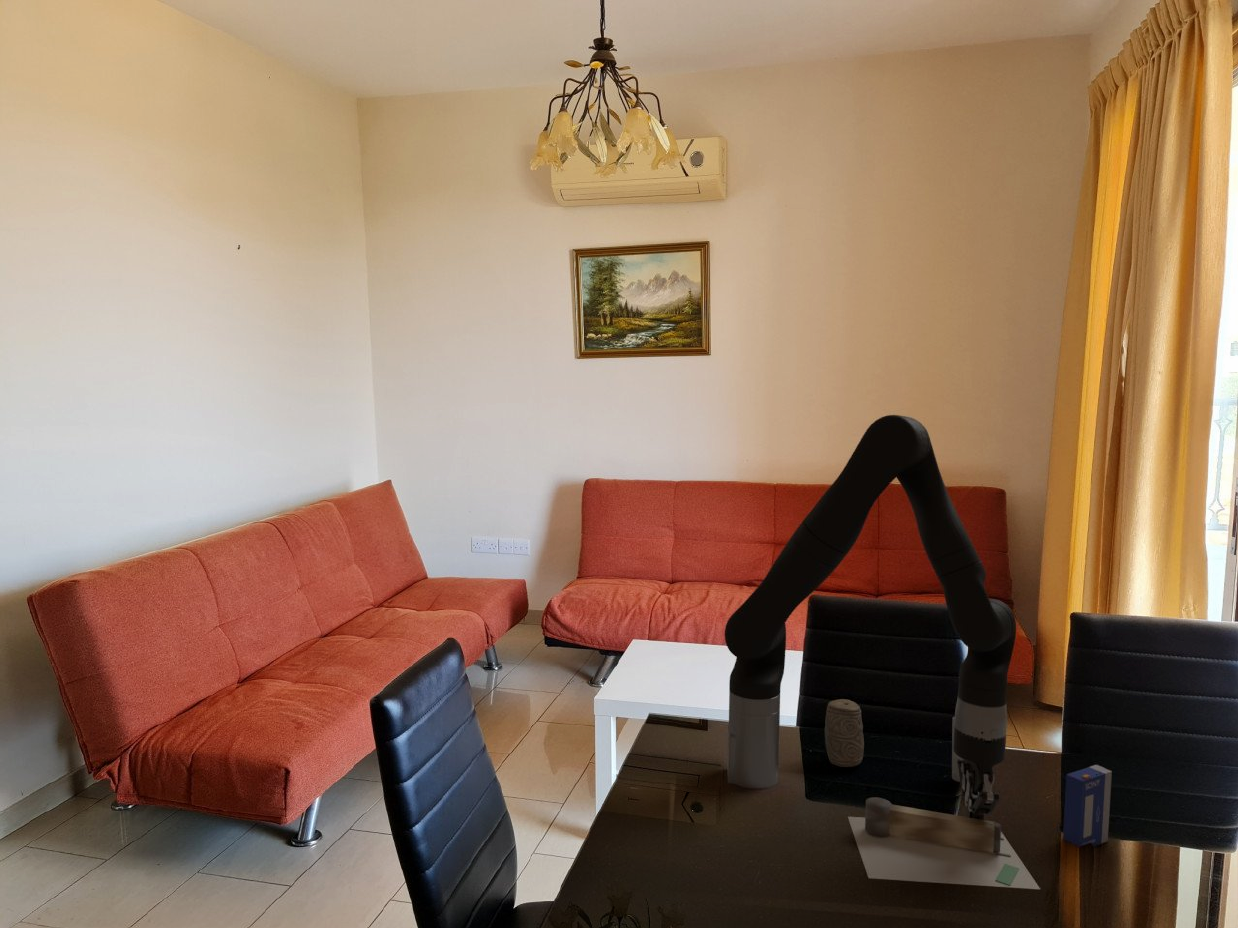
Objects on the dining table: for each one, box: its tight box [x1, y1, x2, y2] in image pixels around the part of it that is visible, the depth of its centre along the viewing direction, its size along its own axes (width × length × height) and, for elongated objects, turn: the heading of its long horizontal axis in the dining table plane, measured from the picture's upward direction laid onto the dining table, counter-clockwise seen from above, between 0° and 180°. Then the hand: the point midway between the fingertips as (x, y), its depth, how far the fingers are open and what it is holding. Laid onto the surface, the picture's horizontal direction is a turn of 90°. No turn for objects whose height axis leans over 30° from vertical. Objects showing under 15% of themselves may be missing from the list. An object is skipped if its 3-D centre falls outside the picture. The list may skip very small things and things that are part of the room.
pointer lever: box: [864, 797, 1002, 853], centre depth 132 cm, size 20×4×4 cm, turn 69°
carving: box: [824, 698, 865, 768], centre depth 162 cm, size 6×8×12 cm
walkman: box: [1062, 764, 1113, 848], centre depth 134 cm, size 8×3×12 cm, turn 118°
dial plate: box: [847, 816, 1041, 891], centre depth 130 cm, size 24×18×1 cm
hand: (974, 831), depth 133 cm, fingers closed
